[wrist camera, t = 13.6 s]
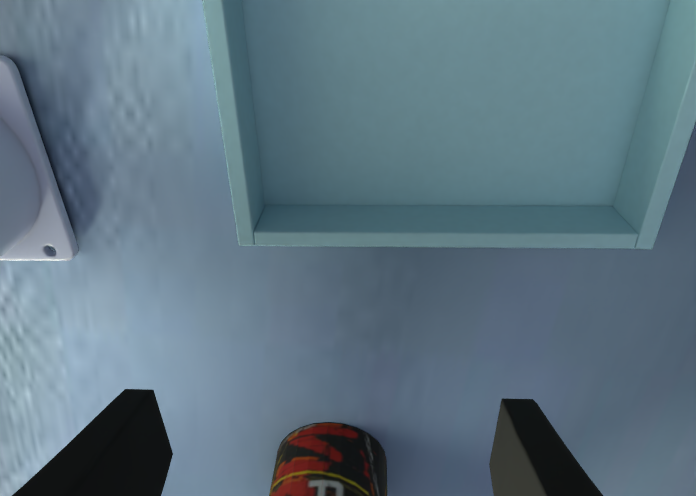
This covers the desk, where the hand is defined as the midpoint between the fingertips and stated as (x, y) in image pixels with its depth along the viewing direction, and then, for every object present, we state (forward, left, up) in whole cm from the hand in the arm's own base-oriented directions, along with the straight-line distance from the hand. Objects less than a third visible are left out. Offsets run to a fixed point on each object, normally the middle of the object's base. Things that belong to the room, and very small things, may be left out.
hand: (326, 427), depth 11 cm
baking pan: (+3, +6, -10) cm, 13 cm away
